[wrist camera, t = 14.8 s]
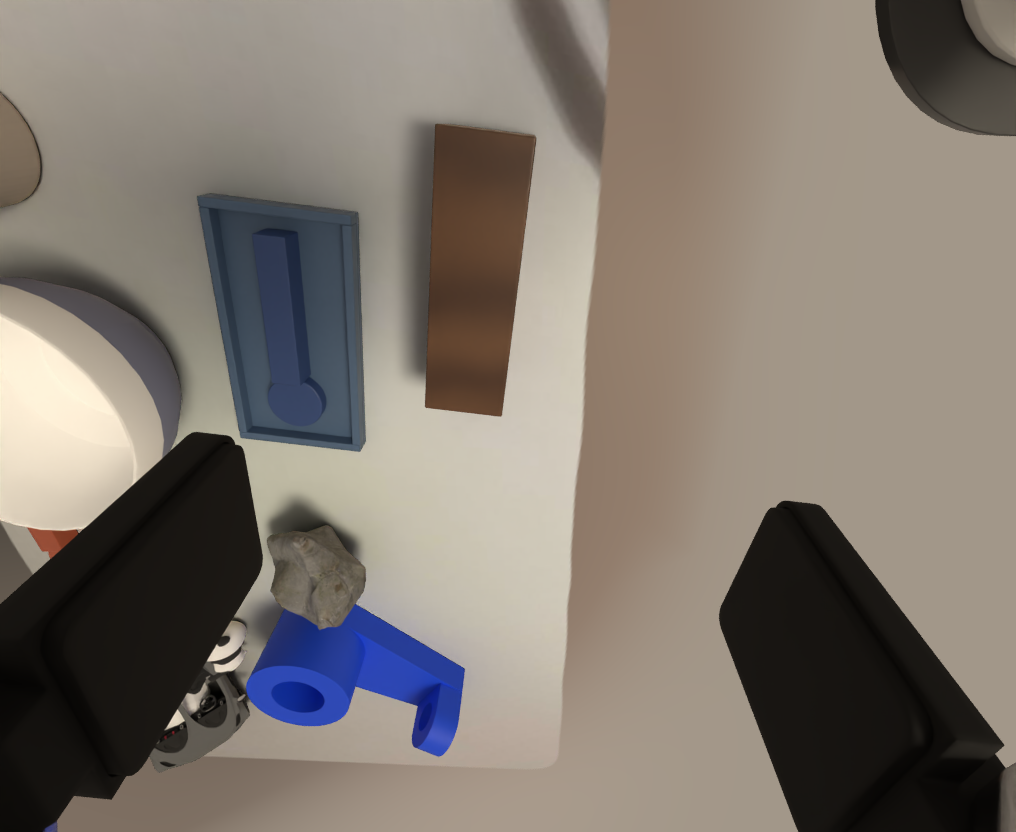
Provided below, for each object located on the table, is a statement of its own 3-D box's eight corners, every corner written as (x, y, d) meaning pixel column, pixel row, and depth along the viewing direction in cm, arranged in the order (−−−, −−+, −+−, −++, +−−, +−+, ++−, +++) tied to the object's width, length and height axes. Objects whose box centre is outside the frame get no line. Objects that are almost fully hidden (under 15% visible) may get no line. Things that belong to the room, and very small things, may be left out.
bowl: (251, 445, 41) (180, 527, 32) (67, 454, 42) (-47, 535, 34) (171, 241, 33) (50, 280, 25) (-53, 258, 34) (-242, 300, 26)
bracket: (269, 629, 52) (231, 702, 46) (304, 579, 48) (268, 652, 42) (432, 698, 57) (419, 773, 51) (475, 659, 53) (468, 734, 47)
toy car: (264, 672, 64) (287, 727, 58) (149, 739, 57) (161, 809, 51) (221, 570, 55) (243, 622, 49) (79, 635, 48) (84, 704, 42)
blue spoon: (250, 225, 32) (234, 231, 30) (314, 233, 32) (301, 239, 30) (276, 417, 39) (264, 430, 37) (328, 423, 39) (319, 436, 37)
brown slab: (449, 123, 29) (434, 123, 25) (535, 135, 29) (536, 136, 25) (437, 374, 37) (424, 408, 33) (505, 383, 37) (501, 417, 33)
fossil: (260, 497, 43) (208, 568, 36) (361, 489, 42) (328, 560, 36) (302, 587, 49) (264, 663, 42) (392, 582, 48) (369, 658, 41)
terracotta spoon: (-6, 445, 42) (-29, 458, 40) (41, 446, 42) (19, 460, 40) (68, 566, 49) (51, 582, 47) (108, 567, 49) (92, 584, 47)
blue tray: (210, 192, 31) (196, 195, 30) (358, 211, 31) (351, 215, 30) (249, 428, 40) (240, 438, 39) (365, 441, 40) (360, 452, 39)
